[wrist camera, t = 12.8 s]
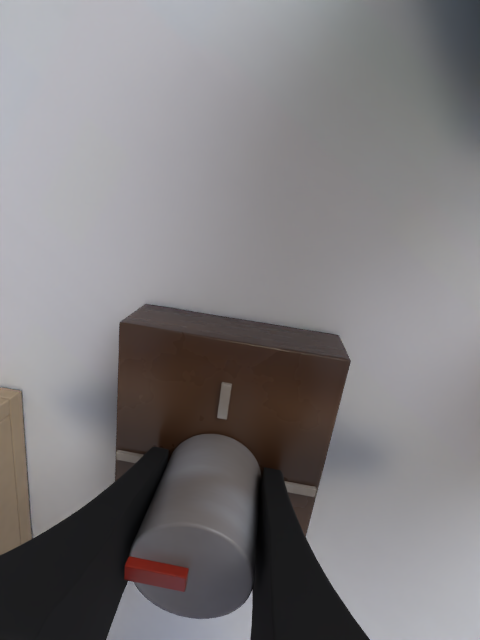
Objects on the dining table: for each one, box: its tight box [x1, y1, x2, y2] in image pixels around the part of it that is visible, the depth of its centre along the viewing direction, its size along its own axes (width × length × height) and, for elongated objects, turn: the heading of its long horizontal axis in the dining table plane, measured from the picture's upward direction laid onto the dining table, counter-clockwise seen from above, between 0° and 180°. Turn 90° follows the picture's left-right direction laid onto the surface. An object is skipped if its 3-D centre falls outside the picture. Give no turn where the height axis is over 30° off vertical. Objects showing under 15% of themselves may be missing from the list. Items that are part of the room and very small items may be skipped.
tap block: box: [115, 304, 351, 537], centre depth 15 cm, size 11×8×3 cm
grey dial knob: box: [124, 434, 261, 619], centre depth 11 cm, size 4×4×4 cm
